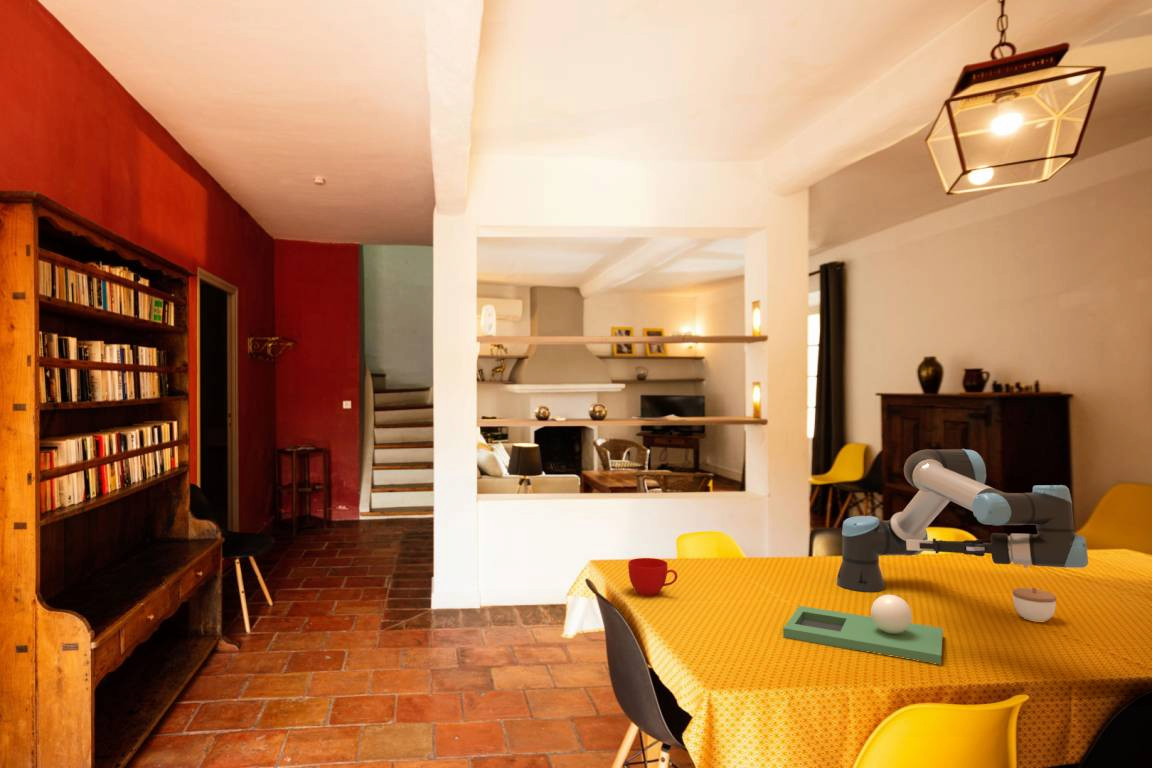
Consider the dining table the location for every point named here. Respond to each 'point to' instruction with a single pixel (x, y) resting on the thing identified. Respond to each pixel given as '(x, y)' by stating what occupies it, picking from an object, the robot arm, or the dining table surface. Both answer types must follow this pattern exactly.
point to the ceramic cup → (649, 575)
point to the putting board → (864, 634)
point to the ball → (891, 614)
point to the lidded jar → (1034, 603)
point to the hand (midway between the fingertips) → (907, 544)
